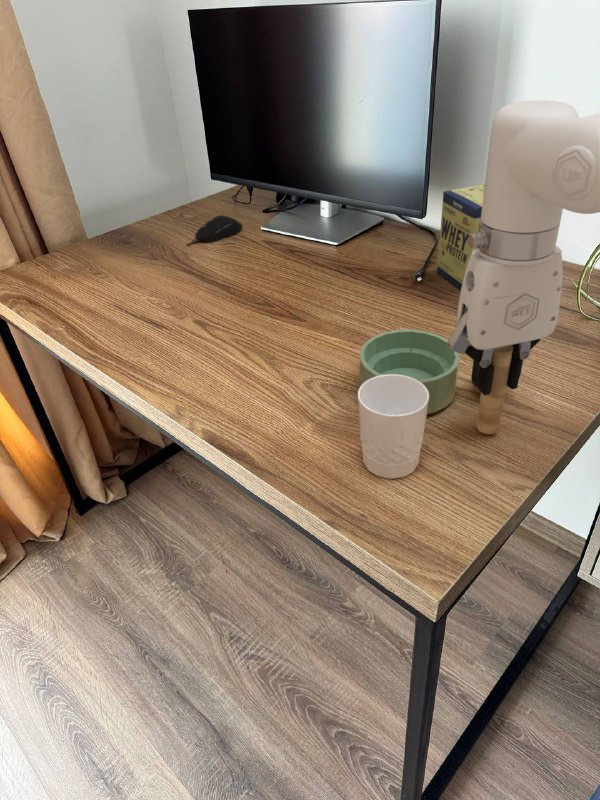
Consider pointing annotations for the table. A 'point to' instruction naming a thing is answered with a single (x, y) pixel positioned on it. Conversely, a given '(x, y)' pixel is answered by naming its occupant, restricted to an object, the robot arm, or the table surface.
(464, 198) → the protein box
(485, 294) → the robot arm
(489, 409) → the stick
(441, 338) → the bowl
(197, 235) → the gaming mouse
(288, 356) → the table surface
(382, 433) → the white cup
